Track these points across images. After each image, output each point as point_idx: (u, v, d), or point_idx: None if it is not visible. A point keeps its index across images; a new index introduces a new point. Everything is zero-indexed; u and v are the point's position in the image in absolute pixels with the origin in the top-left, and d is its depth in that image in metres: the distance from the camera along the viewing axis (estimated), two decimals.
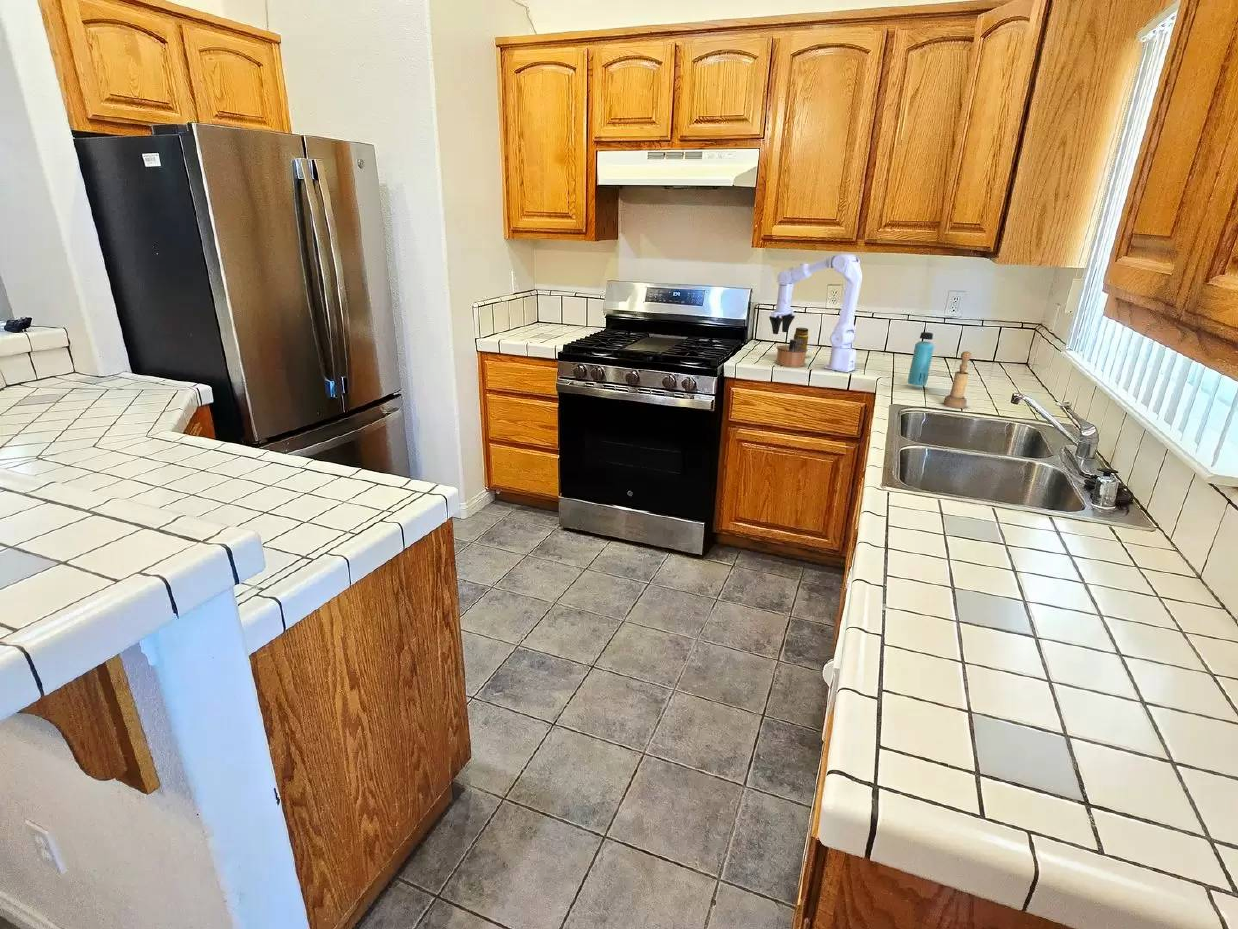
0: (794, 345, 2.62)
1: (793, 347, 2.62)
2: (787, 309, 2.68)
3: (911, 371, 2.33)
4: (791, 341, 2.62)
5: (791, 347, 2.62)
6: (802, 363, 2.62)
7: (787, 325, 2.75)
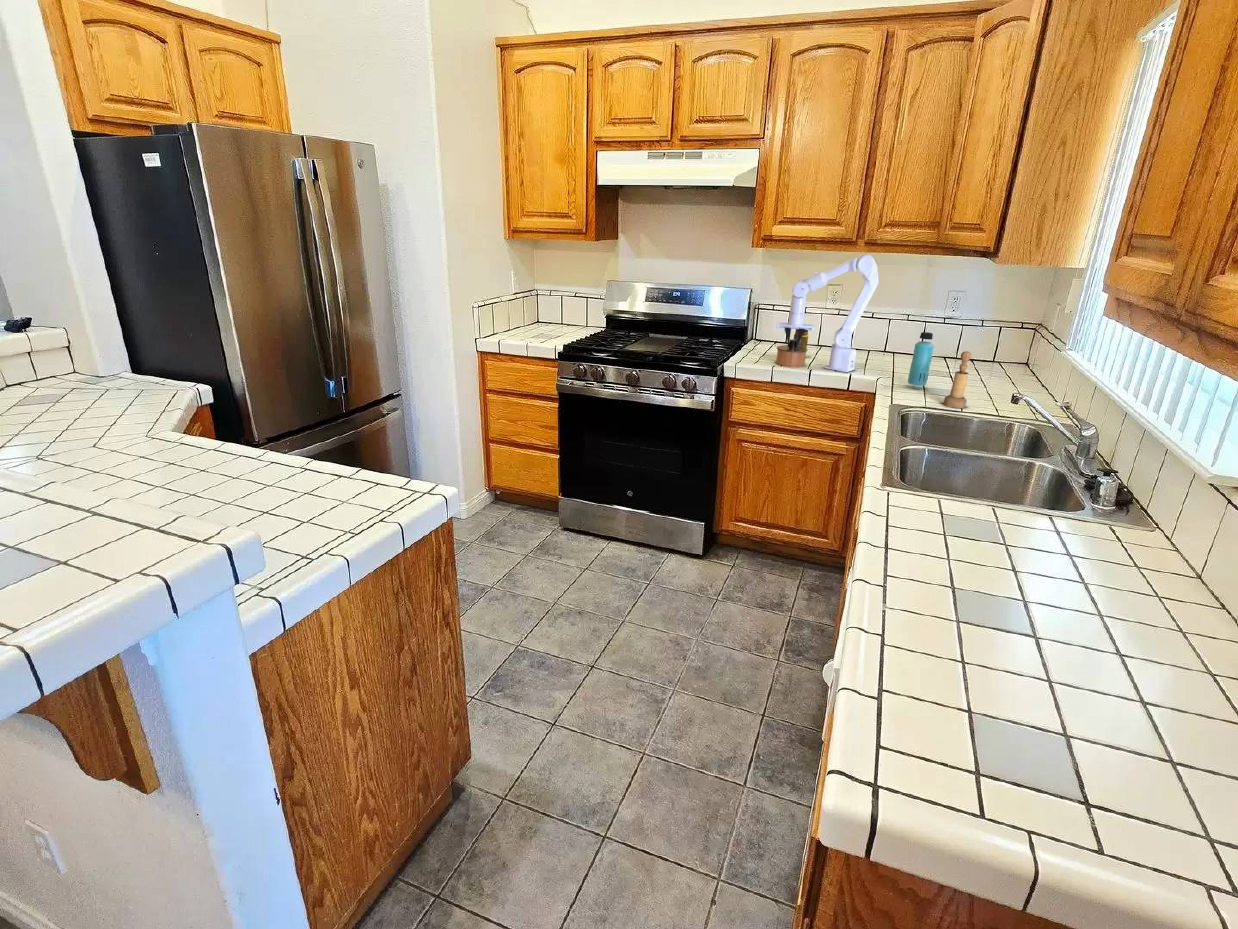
0: (794, 345, 2.62)
1: (793, 347, 2.62)
2: (792, 322, 2.57)
3: (911, 371, 2.33)
4: (791, 341, 2.62)
5: (791, 347, 2.62)
6: (802, 363, 2.62)
7: None
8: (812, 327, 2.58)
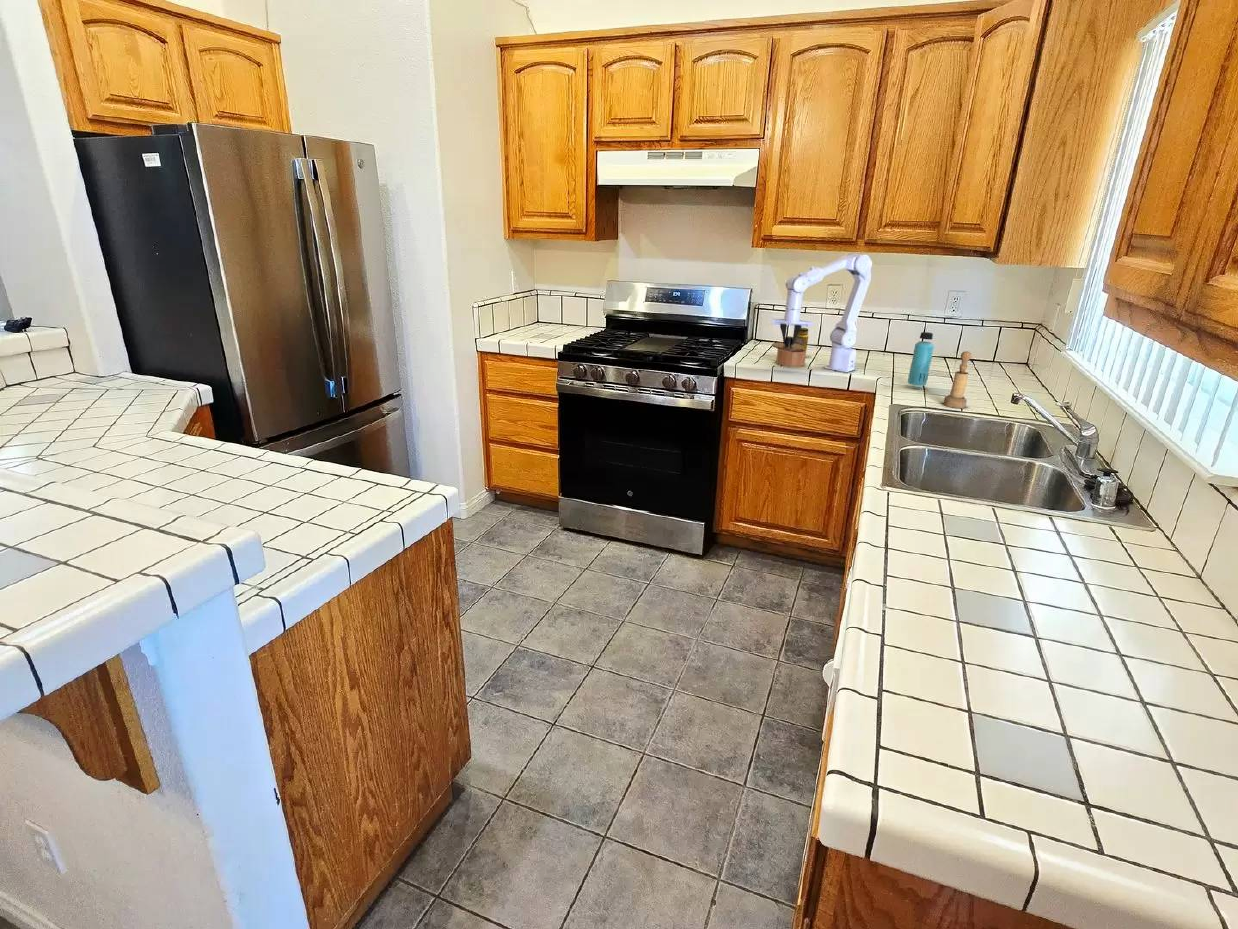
0: (790, 342, 2.50)
1: (789, 344, 2.50)
2: (788, 318, 2.46)
3: (911, 371, 2.33)
4: (787, 338, 2.50)
5: (787, 344, 2.51)
6: (802, 363, 2.62)
7: (793, 337, 2.49)
8: (809, 323, 2.46)
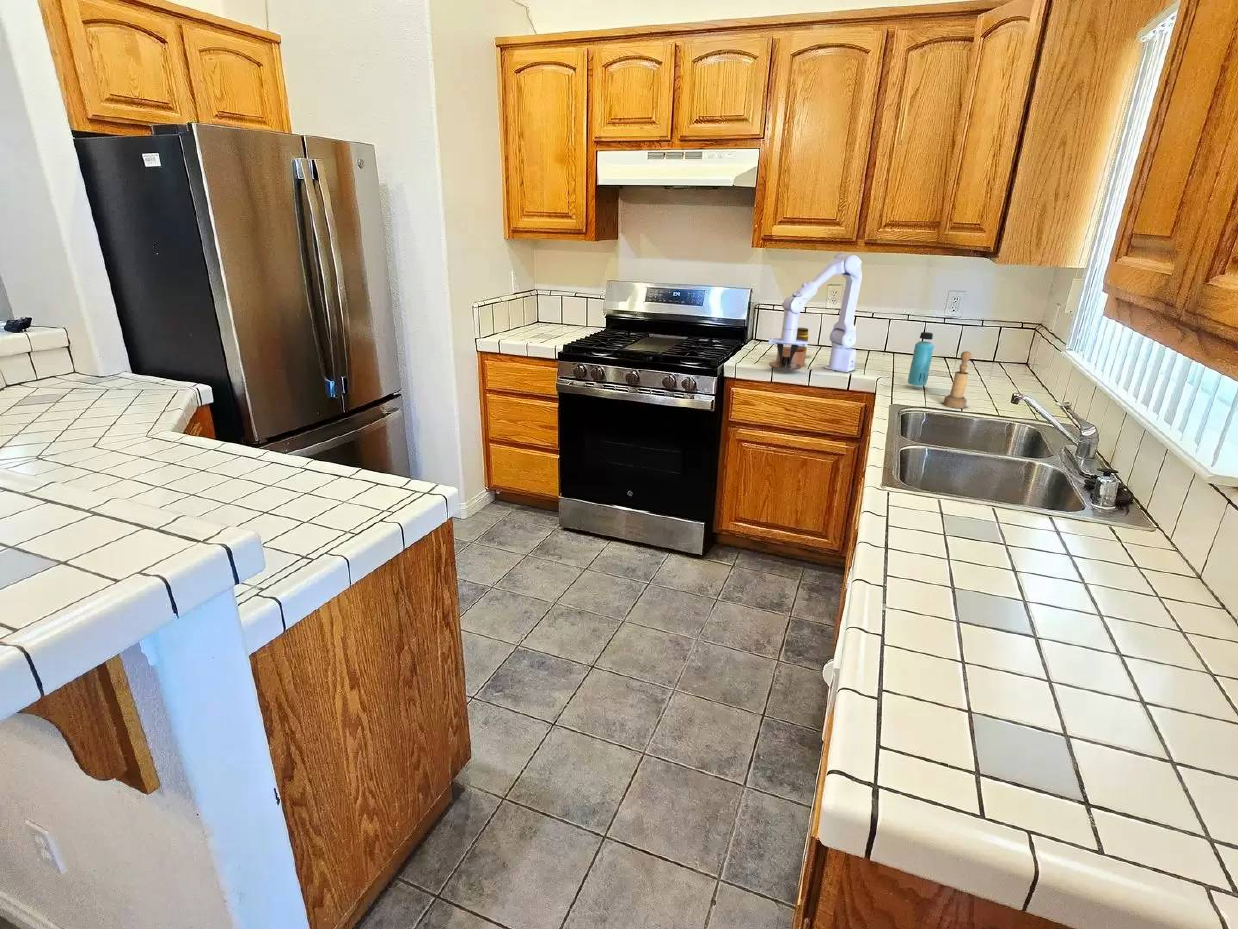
0: (787, 362, 2.51)
1: (786, 364, 2.52)
2: (785, 338, 2.47)
3: (911, 371, 2.33)
4: (784, 357, 2.51)
5: (784, 364, 2.52)
6: (802, 363, 2.62)
7: None
8: (805, 343, 2.47)
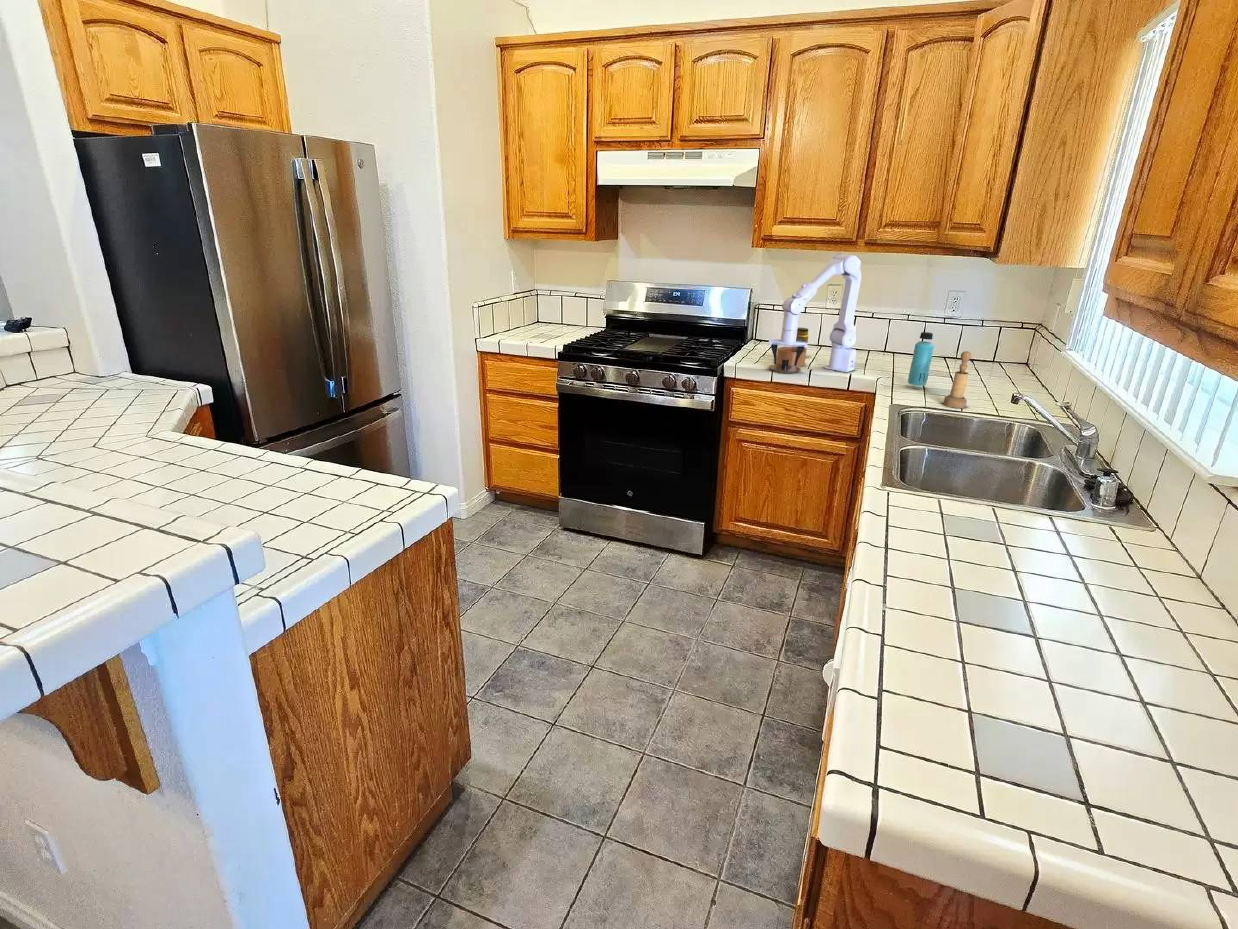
0: (786, 364, 2.52)
1: (785, 367, 2.52)
2: (785, 339, 2.47)
3: (911, 371, 2.33)
4: (783, 360, 2.52)
5: (783, 367, 2.52)
6: (802, 363, 2.62)
7: (795, 358, 2.50)
8: (805, 344, 2.47)
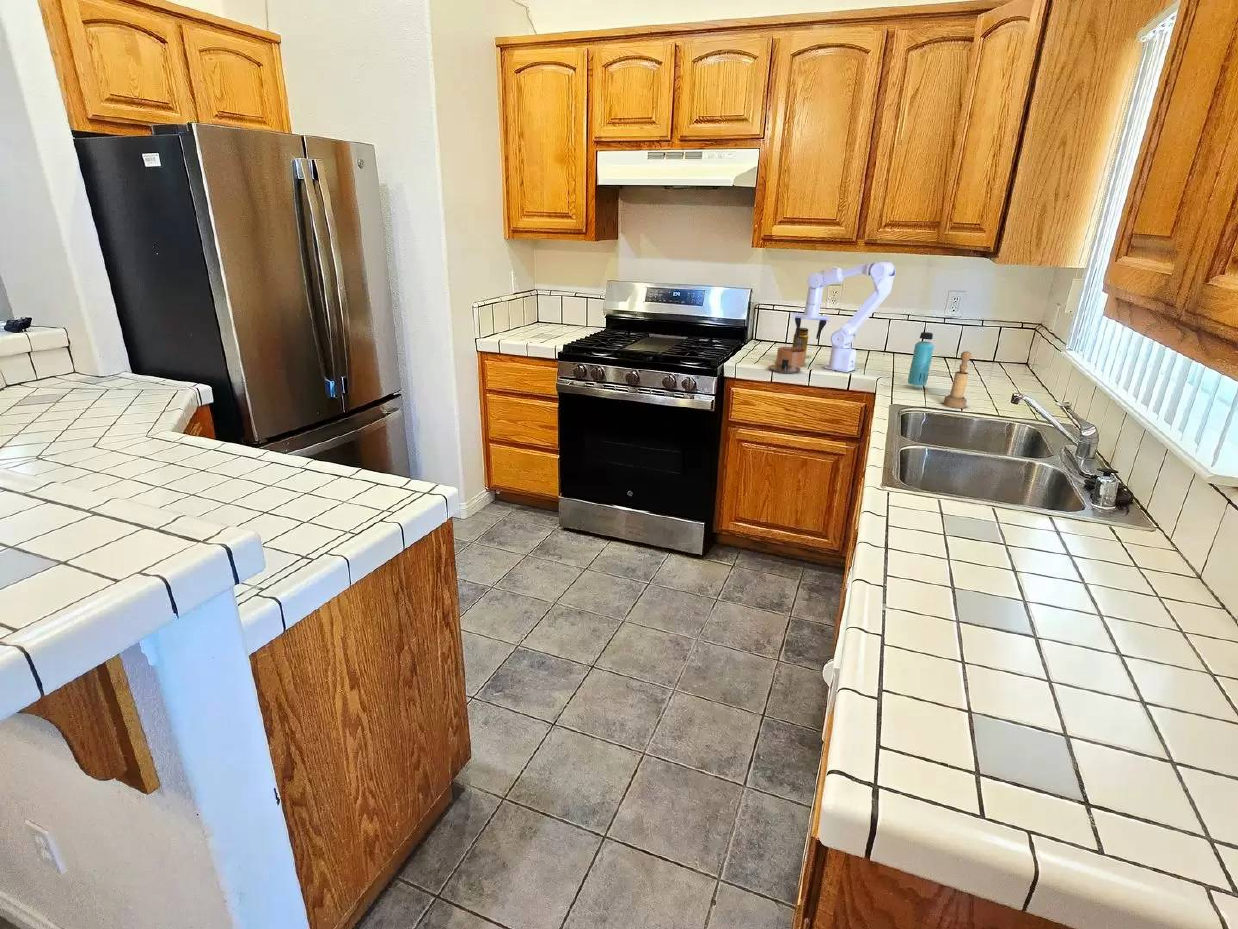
0: (786, 364, 2.52)
1: (785, 367, 2.52)
2: (808, 313, 2.59)
3: (911, 371, 2.33)
4: (783, 360, 2.52)
5: (783, 367, 2.52)
6: (802, 363, 2.62)
7: (818, 331, 2.62)
8: (828, 318, 2.59)
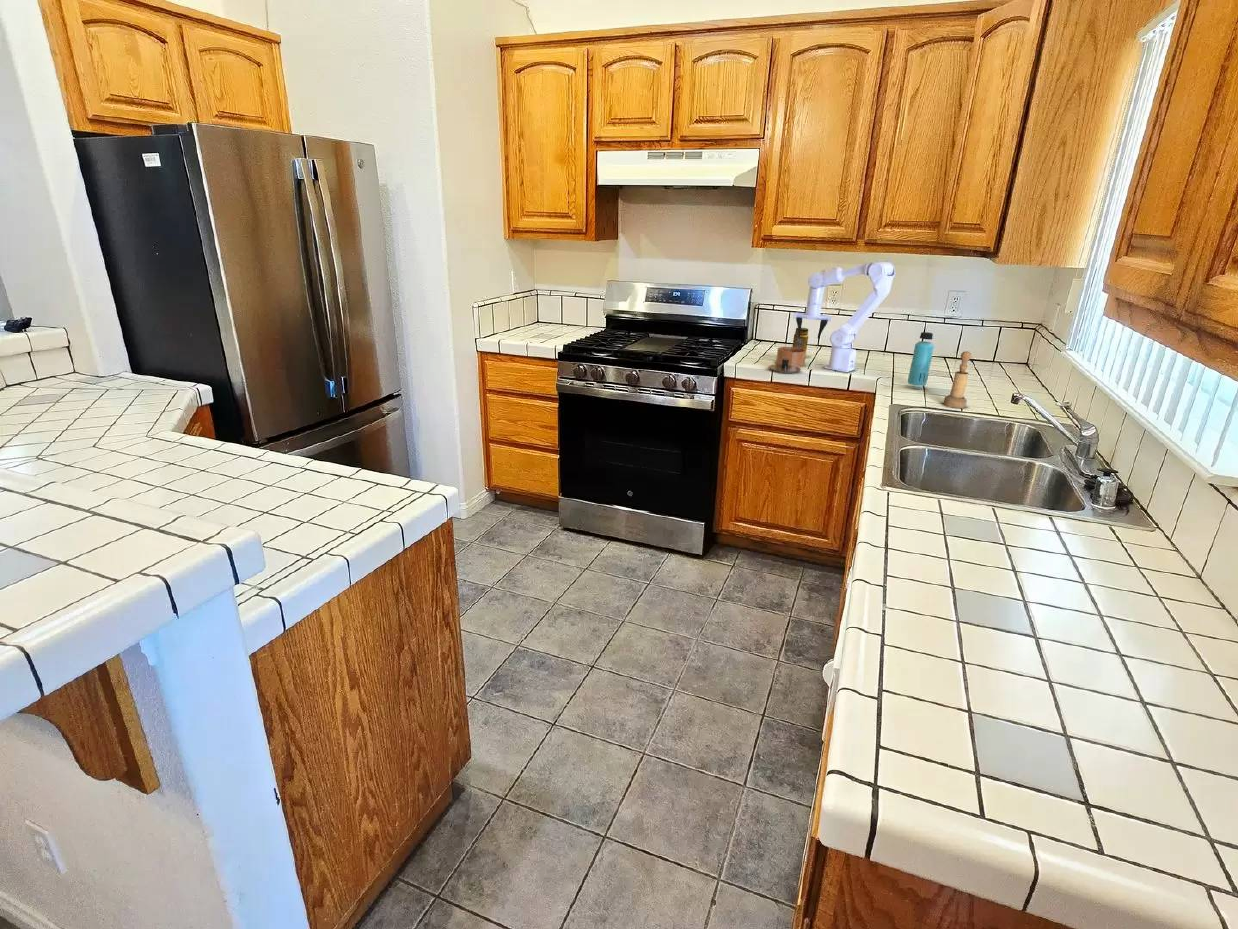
0: (786, 364, 2.52)
1: (785, 367, 2.52)
2: (809, 313, 2.60)
3: (911, 371, 2.33)
4: (783, 360, 2.52)
5: (783, 367, 2.52)
6: (802, 363, 2.62)
7: (819, 331, 2.63)
8: (829, 318, 2.60)
